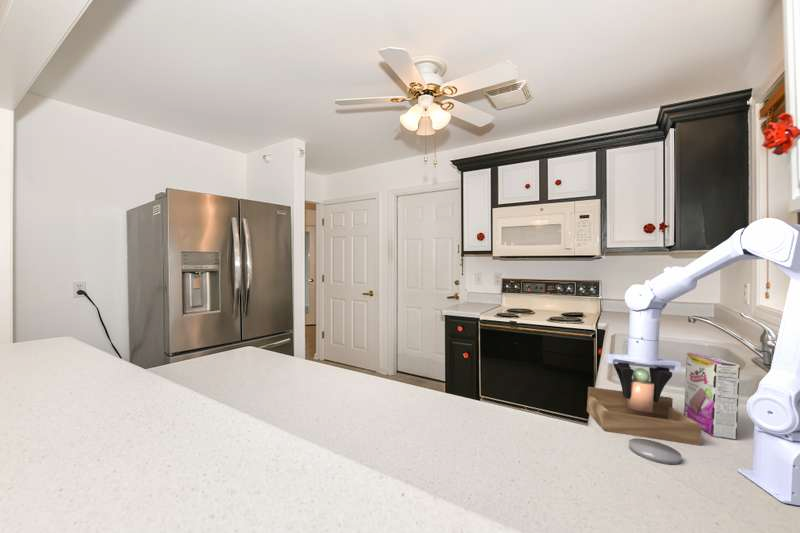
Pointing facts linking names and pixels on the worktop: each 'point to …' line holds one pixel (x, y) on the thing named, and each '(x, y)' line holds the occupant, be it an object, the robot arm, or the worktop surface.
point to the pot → (641, 392)
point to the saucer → (655, 451)
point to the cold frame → (641, 418)
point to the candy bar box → (712, 394)
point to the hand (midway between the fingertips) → (640, 398)
